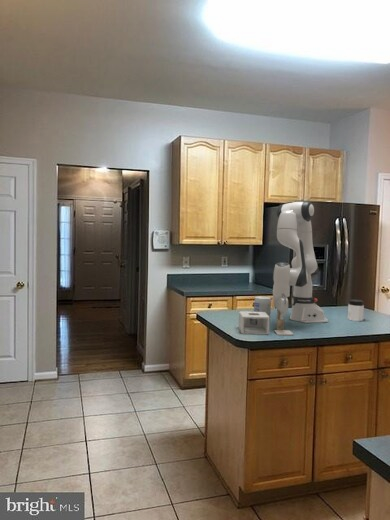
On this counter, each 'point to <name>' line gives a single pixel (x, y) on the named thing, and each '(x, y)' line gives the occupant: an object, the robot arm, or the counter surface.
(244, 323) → the box
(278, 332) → the tile
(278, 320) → the rectangular block
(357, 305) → the jar
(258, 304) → the supplement tub
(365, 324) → the counter surface
